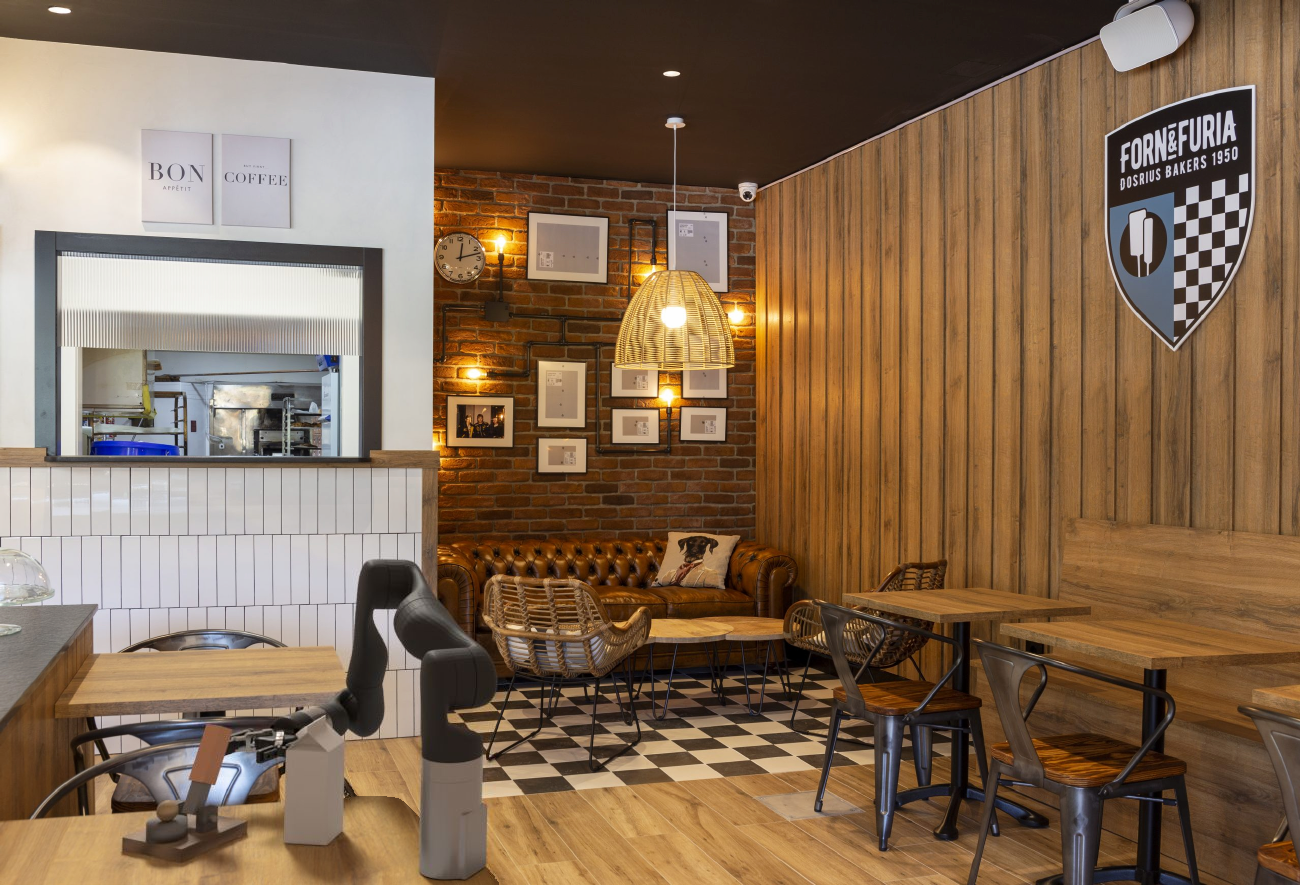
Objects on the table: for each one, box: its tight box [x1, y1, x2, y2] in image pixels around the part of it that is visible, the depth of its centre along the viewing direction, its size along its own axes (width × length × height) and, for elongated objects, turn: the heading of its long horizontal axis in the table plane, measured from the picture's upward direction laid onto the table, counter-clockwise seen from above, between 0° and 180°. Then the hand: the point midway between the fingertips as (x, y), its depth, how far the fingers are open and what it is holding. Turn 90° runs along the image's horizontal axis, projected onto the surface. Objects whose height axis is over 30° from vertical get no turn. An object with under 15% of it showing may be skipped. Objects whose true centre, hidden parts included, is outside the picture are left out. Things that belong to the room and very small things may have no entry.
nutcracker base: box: [121, 798, 248, 863], centre depth 174 cm, size 12×14×8 cm
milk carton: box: [283, 715, 346, 846], centre depth 177 cm, size 7×7×19 cm
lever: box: [181, 723, 233, 815], centre depth 178 cm, size 3×3×14 cm
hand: (237, 754), depth 185 cm, fingers open, 8 cm apart
